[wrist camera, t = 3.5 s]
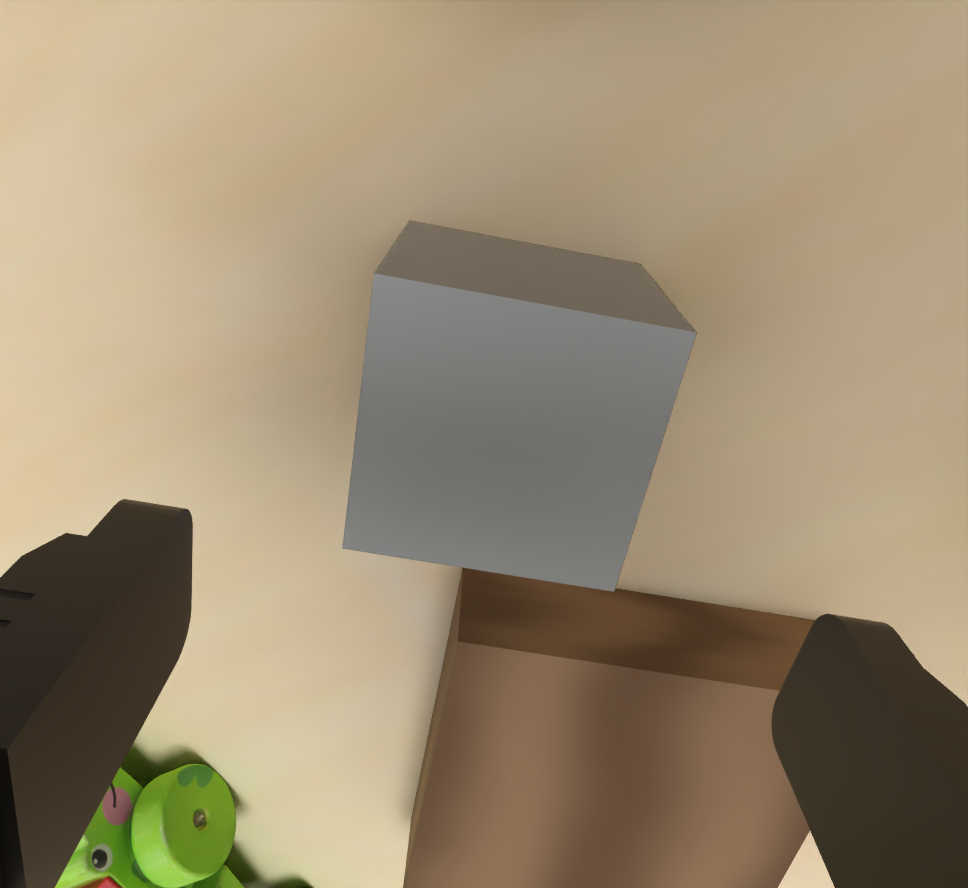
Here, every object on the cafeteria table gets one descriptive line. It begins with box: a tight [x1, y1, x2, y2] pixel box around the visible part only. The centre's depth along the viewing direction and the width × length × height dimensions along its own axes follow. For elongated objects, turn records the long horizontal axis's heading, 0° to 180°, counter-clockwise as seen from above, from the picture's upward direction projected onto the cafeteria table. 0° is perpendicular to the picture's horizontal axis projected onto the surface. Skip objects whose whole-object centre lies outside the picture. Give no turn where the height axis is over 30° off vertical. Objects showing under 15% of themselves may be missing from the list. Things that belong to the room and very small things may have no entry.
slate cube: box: [343, 221, 697, 592], centre depth 17 cm, size 6×6×6 cm
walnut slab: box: [403, 568, 815, 888], centre depth 25 cm, size 12×12×4 cm
